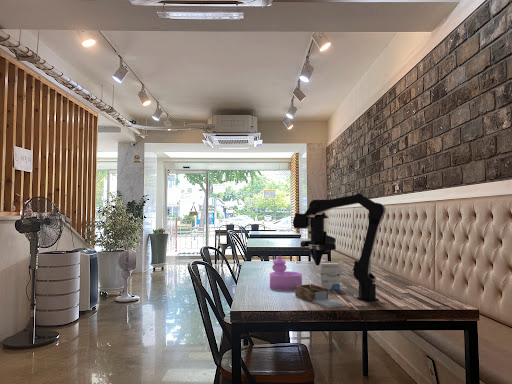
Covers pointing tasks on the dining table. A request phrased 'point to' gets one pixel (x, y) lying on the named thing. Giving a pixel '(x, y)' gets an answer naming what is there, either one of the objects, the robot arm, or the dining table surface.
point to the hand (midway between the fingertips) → (317, 265)
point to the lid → (325, 300)
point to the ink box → (330, 276)
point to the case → (308, 291)
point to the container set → (283, 276)
